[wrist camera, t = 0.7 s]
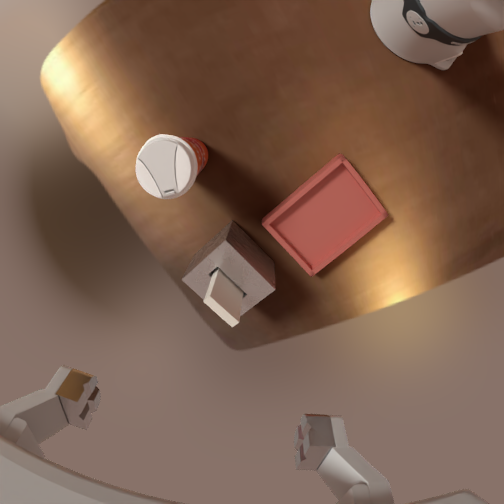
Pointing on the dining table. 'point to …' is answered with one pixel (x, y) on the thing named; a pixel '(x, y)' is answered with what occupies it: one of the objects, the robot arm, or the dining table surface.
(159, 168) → the paper cup
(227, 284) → the long rectangular block
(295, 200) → the tray
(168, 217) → the dining table surface
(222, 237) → the dispenser
